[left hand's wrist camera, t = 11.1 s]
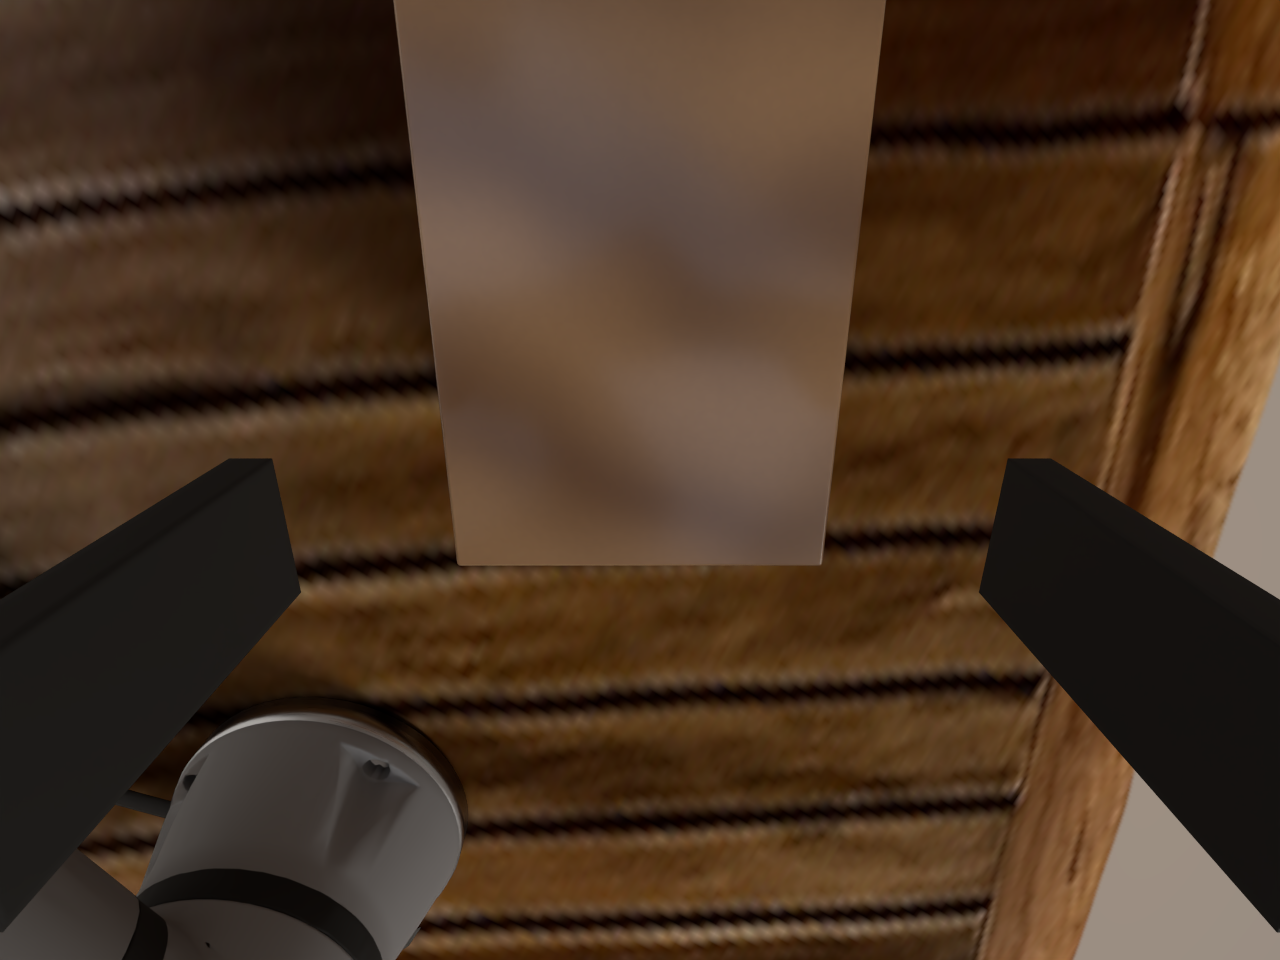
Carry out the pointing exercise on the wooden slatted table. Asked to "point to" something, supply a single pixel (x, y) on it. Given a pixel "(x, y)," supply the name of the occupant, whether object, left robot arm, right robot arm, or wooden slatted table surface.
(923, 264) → the wooden slatted table surface
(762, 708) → the wooden slatted table surface
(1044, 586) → the left robot arm
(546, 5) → the cabinet
